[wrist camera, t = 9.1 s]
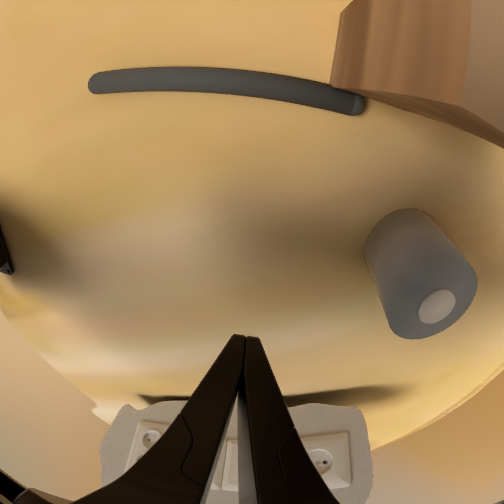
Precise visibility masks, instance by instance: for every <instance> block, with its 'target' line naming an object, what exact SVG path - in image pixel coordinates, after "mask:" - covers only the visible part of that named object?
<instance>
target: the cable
mask: <svg viewBox="0 0 504 504" xmlns="http://www.w3.org/2000/svg"><path fill="white" fill-rule="evenodd" d="M88 88H89V90H90V92H92V93H93V94H107V93H121V92H142V91H184V92H206V93H220V94H231V95H241V96H250V97H258V98H265V99H272V100H278V101H284V102H290V103H295V104H301V105H306V106H311V107H316V108H320V109H325V110H329V111H333V112H337V113H341V114H345V115H349V116H355V115H358V114H359V113H361V112H362V110H363V108H364V100H363V98H362V96H361V95H359V94H356V93H353V92H349V91H346V90H342V89H338V88H334V87H333V86H332V85H329V84H325V83H321V82H316V81H311V80H307V79H301V78H296V77H291V76H285V75H279V74H272V73H265V72H257V71H248V70H238V69H226V68H210V67H150V68H134V69H122V70H113V71H105V72H98V73H96V74H94V75H93V76H91V78H90V79H89V82H88Z"/></svg>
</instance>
